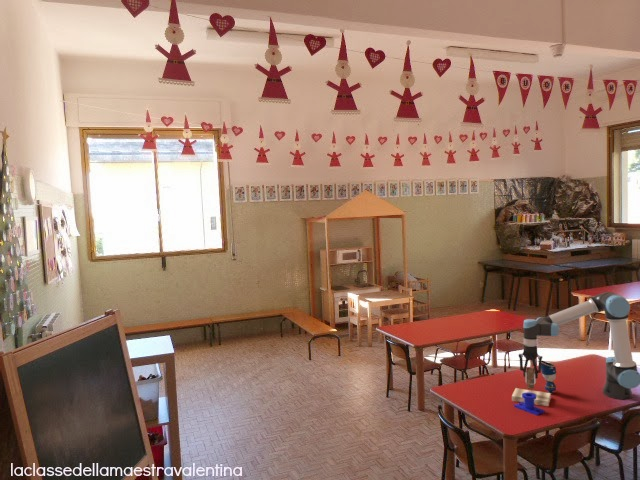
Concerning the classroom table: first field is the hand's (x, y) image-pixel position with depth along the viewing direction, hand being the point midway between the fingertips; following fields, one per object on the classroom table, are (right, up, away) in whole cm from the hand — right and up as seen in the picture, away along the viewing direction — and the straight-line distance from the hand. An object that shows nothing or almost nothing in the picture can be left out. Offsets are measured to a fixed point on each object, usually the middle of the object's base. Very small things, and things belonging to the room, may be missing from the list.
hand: (530, 382), depth 289 cm
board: (+1, -10, +1) cm, 10 cm away
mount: (-7, -12, -13) cm, 19 cm away
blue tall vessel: (+16, -9, +10) cm, 21 cm away
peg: (0, -3, 0) cm, 3 cm away
